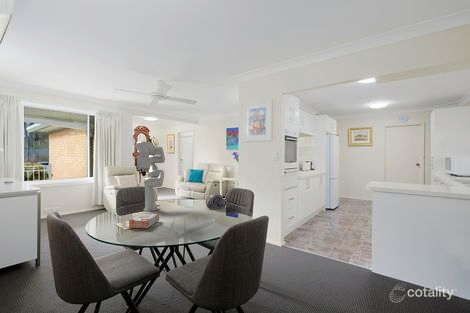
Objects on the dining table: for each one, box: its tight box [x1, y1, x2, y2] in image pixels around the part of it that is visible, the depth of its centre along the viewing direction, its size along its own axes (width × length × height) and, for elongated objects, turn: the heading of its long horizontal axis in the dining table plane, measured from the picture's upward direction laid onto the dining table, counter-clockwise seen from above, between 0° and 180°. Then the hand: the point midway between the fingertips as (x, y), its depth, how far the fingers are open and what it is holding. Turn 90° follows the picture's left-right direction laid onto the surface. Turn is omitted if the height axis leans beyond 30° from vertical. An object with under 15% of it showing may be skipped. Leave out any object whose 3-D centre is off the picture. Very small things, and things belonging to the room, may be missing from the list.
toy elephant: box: [205, 193, 228, 210], centre depth 233 cm, size 20×18×15 cm
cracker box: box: [128, 212, 160, 229], centre depth 180 cm, size 14×6×21 cm
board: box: [114, 220, 133, 231], centre depth 183 cm, size 22×20×1 cm
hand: (143, 176), depth 207 cm, fingers closed
